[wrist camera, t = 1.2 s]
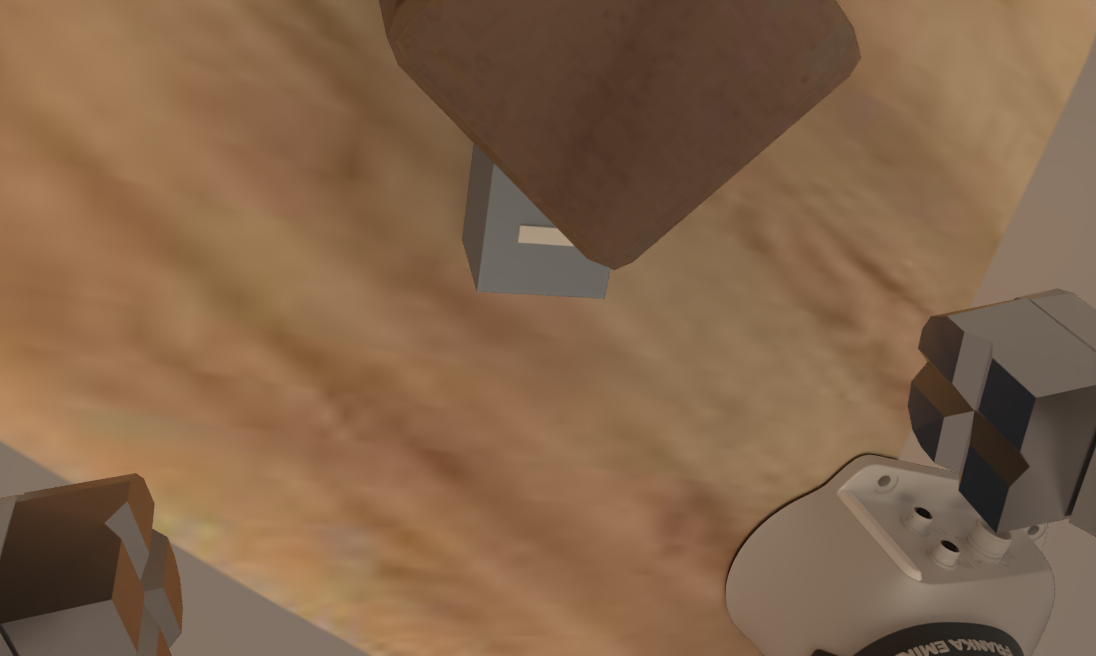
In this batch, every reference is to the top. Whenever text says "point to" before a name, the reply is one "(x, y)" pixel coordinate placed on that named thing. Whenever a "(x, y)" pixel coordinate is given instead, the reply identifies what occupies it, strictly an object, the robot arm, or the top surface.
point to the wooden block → (622, 97)
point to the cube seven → (520, 242)
